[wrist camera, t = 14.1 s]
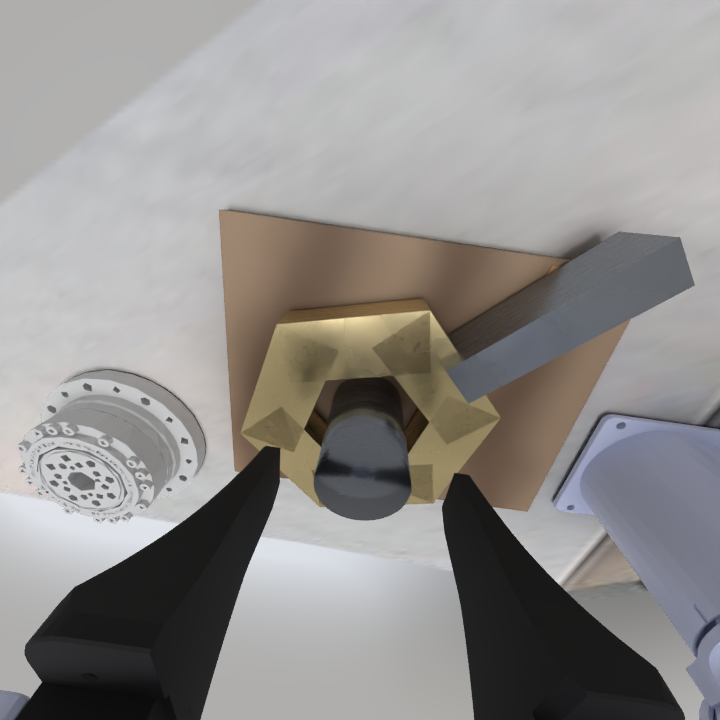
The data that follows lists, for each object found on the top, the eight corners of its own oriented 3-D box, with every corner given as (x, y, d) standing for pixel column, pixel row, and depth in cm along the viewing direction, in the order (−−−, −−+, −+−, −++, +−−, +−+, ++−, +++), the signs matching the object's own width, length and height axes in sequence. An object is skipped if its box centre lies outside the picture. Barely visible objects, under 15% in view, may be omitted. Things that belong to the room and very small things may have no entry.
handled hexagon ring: (355, 510, 22) (352, 553, 19) (211, 370, 17) (180, 399, 15) (668, 364, 16) (728, 396, 13) (568, 97, 11) (626, 62, 9)
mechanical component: (176, 360, 19) (30, 374, 20) (123, 400, 15) (-56, 415, 16) (226, 480, 23) (103, 487, 24) (195, 536, 19) (50, 542, 20)
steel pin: (405, 377, 17) (418, 453, 12) (397, 434, 19) (405, 524, 14) (333, 371, 17) (313, 445, 12) (331, 428, 19) (313, 516, 14)
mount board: (638, 269, 15) (656, 273, 14) (521, 499, 22) (527, 512, 21) (228, 209, 15) (217, 209, 14) (240, 460, 22) (234, 472, 21)
